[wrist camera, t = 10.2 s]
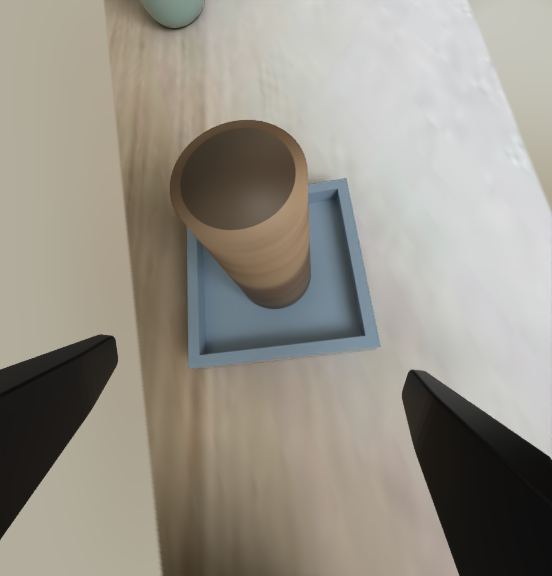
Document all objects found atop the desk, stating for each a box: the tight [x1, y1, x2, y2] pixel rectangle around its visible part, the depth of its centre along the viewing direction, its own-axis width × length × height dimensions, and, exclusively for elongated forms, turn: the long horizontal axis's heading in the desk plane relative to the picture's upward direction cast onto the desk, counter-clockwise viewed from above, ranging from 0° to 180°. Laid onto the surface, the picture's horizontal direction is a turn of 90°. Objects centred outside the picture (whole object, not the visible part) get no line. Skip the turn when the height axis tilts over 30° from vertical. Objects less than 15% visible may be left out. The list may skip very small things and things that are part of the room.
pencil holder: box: [170, 120, 311, 309], centre depth 17 cm, size 6×6×12 cm
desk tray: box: [187, 178, 381, 369], centre depth 23 cm, size 13×13×2 cm
